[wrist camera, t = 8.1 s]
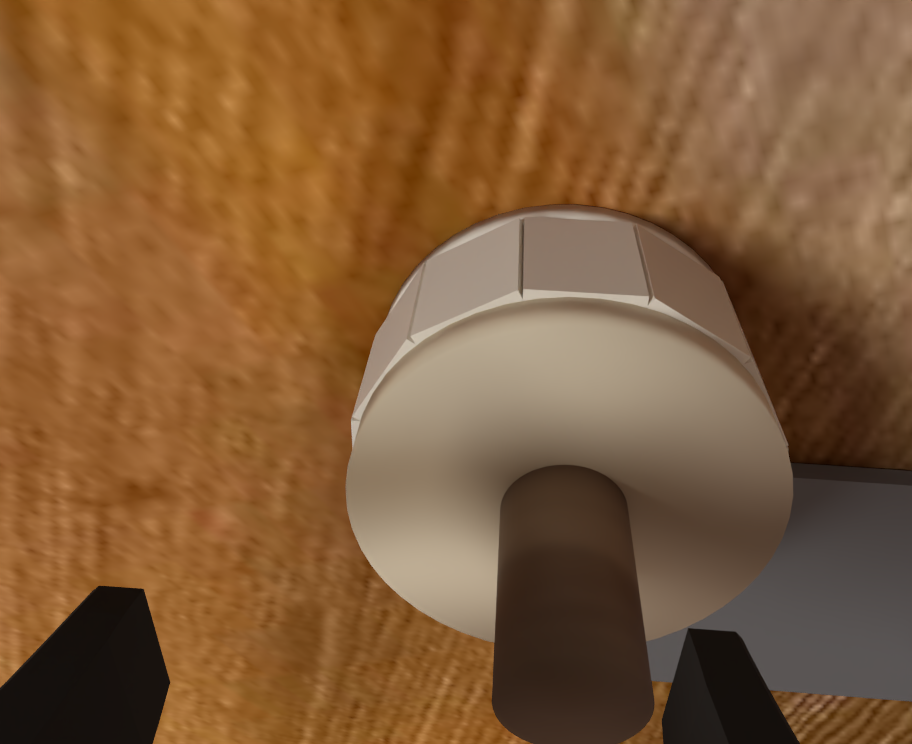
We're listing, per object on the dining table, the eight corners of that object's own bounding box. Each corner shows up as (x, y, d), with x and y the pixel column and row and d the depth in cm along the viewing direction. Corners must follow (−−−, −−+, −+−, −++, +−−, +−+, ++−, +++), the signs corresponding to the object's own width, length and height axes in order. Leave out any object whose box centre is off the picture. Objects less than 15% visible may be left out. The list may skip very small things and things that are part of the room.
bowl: (701, 511, 24) (729, 628, 20) (384, 489, 24) (361, 600, 21) (781, 215, 18) (835, 307, 15) (375, 193, 19) (342, 278, 16)
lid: (745, 623, 20) (805, 857, 16) (375, 612, 21) (333, 832, 16) (821, 296, 15) (943, 507, 11) (328, 297, 16) (249, 494, 11)
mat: (908, 685, 27) (915, 701, 27) (629, 663, 28) (631, 679, 27) (1022, 478, 22) (1034, 494, 22) (678, 455, 22) (682, 470, 22)
